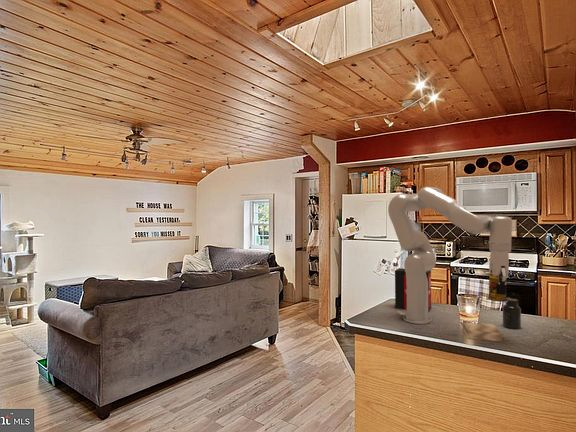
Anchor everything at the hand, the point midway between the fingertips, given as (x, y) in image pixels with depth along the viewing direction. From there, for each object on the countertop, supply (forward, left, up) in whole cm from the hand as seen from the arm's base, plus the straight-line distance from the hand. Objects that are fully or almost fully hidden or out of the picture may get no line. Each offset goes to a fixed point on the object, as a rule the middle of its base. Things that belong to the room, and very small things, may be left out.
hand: (498, 291), depth 146 cm
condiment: (0, +1, -3) cm, 3 cm away
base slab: (-6, +2, -19) cm, 20 cm away
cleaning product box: (-31, +39, -19) cm, 53 cm away
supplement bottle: (+9, +17, -19) cm, 27 cm away
